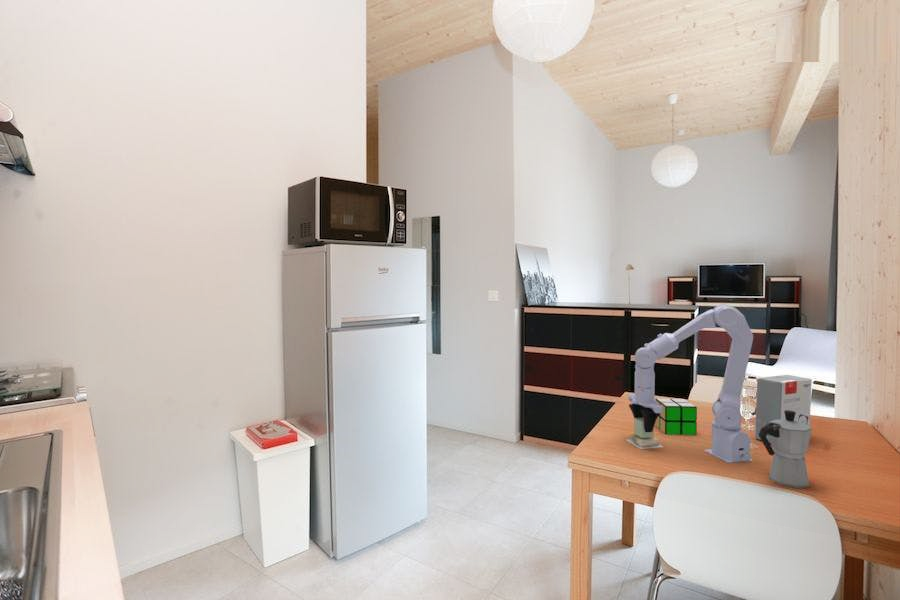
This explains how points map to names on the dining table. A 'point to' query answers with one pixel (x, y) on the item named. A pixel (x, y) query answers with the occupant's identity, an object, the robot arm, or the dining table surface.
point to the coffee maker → (787, 450)
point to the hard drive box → (782, 400)
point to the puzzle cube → (677, 417)
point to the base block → (644, 441)
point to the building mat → (643, 447)
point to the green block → (641, 428)
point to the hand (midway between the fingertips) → (644, 429)
